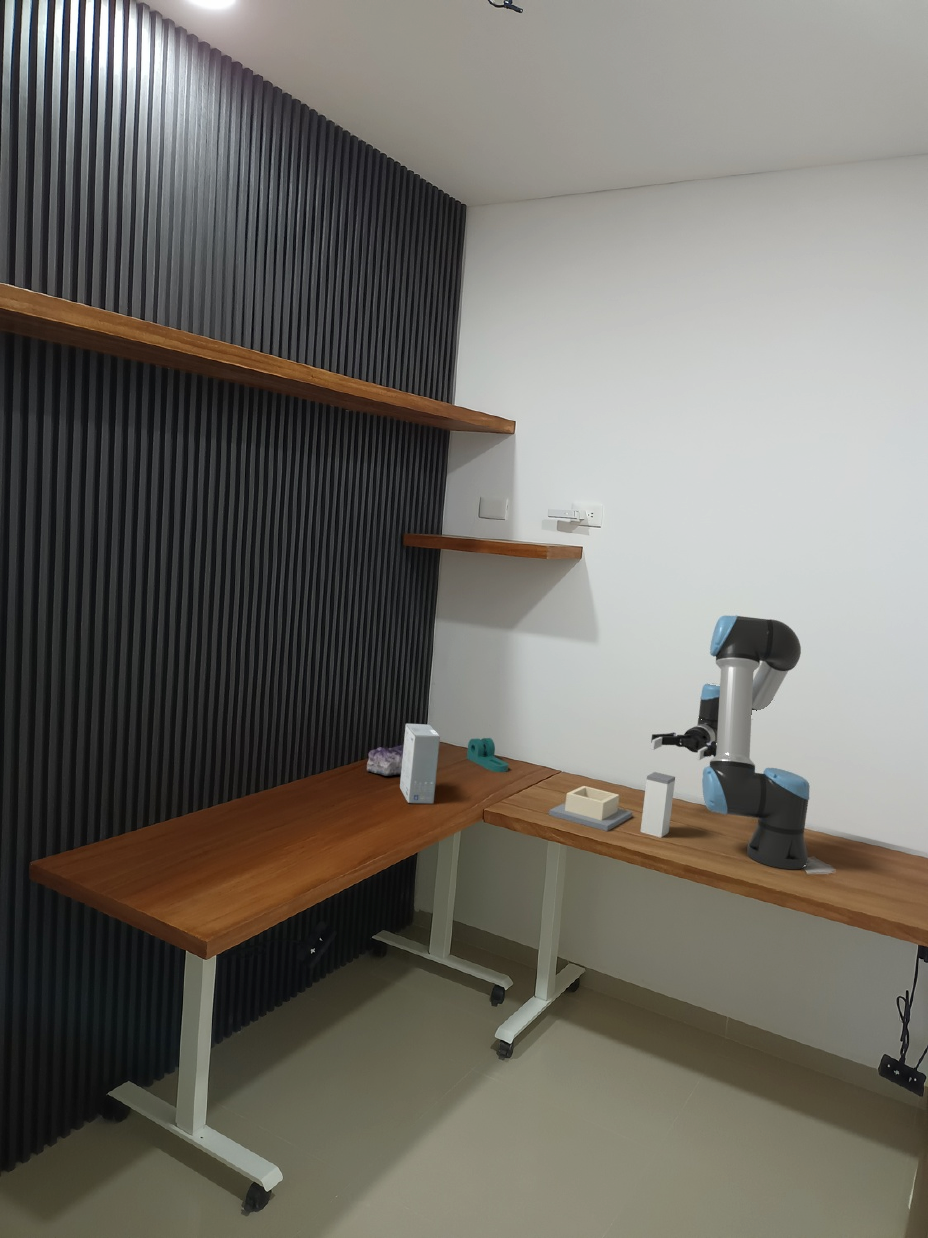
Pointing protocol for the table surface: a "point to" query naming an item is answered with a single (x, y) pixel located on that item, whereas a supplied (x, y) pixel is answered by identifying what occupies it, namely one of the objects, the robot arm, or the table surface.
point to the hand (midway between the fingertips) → (675, 750)
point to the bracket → (485, 755)
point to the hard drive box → (419, 763)
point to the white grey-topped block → (657, 804)
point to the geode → (386, 760)
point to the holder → (592, 808)
